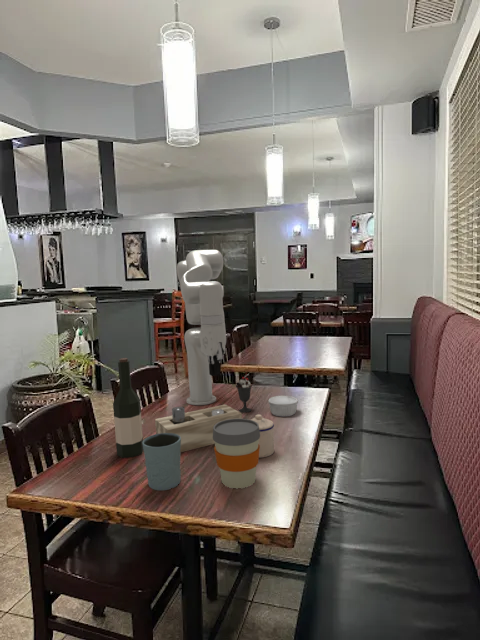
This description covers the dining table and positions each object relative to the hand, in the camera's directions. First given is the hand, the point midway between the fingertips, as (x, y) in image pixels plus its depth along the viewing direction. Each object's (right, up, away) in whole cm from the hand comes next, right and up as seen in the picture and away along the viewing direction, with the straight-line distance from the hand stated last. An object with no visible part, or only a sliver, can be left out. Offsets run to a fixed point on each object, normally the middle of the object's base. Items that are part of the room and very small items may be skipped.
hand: (214, 374), depth 149 cm
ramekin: (+25, -18, +23) cm, 38 cm away
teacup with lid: (+13, -22, -12) cm, 29 cm away
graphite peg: (-11, -18, -4) cm, 22 cm away
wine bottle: (-26, -24, -9) cm, 36 cm away
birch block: (-5, -22, -1) cm, 22 cm away
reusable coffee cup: (+8, -25, -30) cm, 40 cm away
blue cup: (-12, -26, -29) cm, 40 cm away
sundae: (+10, -18, +27) cm, 34 cm away
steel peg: (+1, -20, +3) cm, 21 cm away
